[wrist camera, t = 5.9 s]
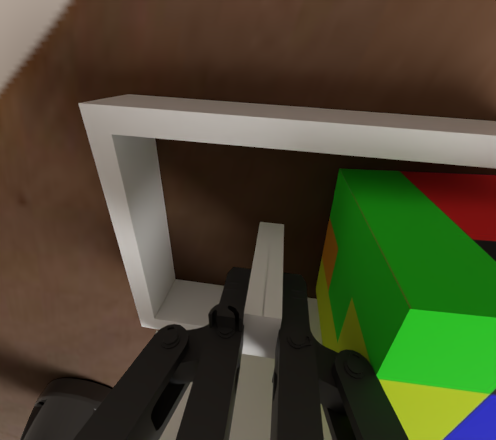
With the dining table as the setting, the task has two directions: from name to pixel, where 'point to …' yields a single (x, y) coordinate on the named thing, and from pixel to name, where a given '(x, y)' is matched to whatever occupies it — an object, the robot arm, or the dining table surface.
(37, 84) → the dining table surface
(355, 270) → the puzzle toy
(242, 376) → the cover
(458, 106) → the dining table surface
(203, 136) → the white hinged box
